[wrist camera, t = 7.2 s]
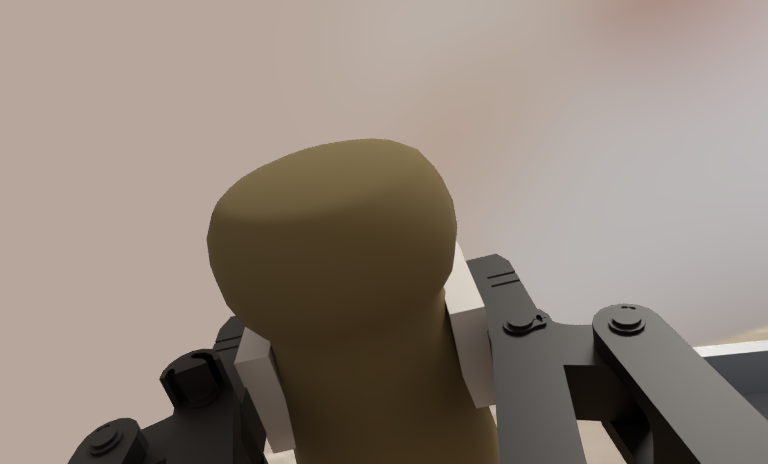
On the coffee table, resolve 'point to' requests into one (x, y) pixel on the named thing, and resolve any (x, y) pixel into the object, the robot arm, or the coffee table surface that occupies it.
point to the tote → (742, 369)
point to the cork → (354, 302)
